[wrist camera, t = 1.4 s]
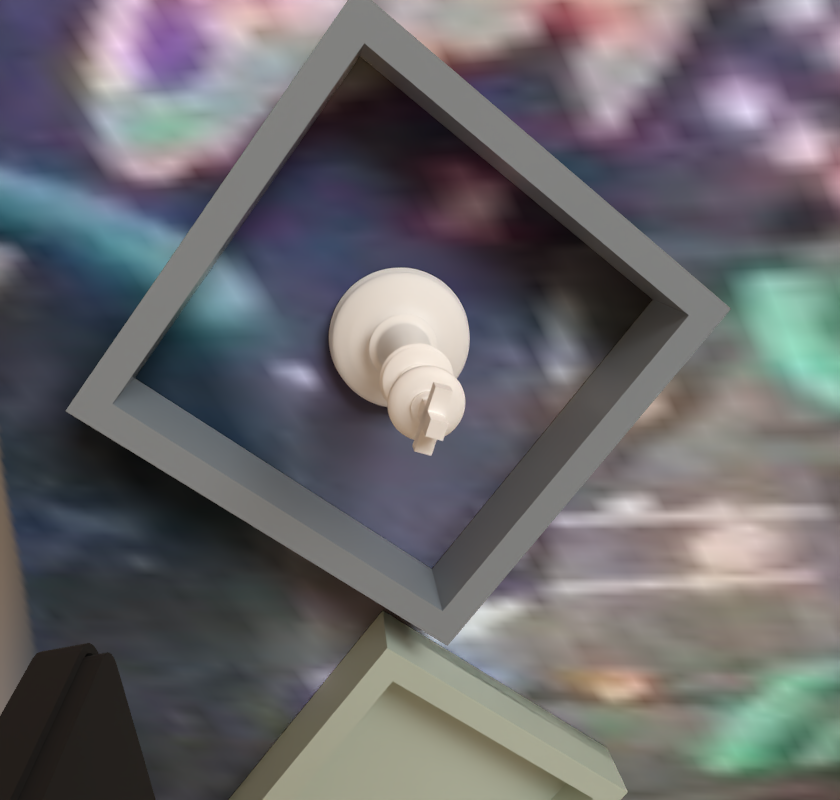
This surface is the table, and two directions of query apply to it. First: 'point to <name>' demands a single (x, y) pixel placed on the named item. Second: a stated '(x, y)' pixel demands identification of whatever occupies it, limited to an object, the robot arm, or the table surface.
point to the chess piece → (404, 350)
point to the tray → (426, 735)
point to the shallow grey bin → (547, 459)
